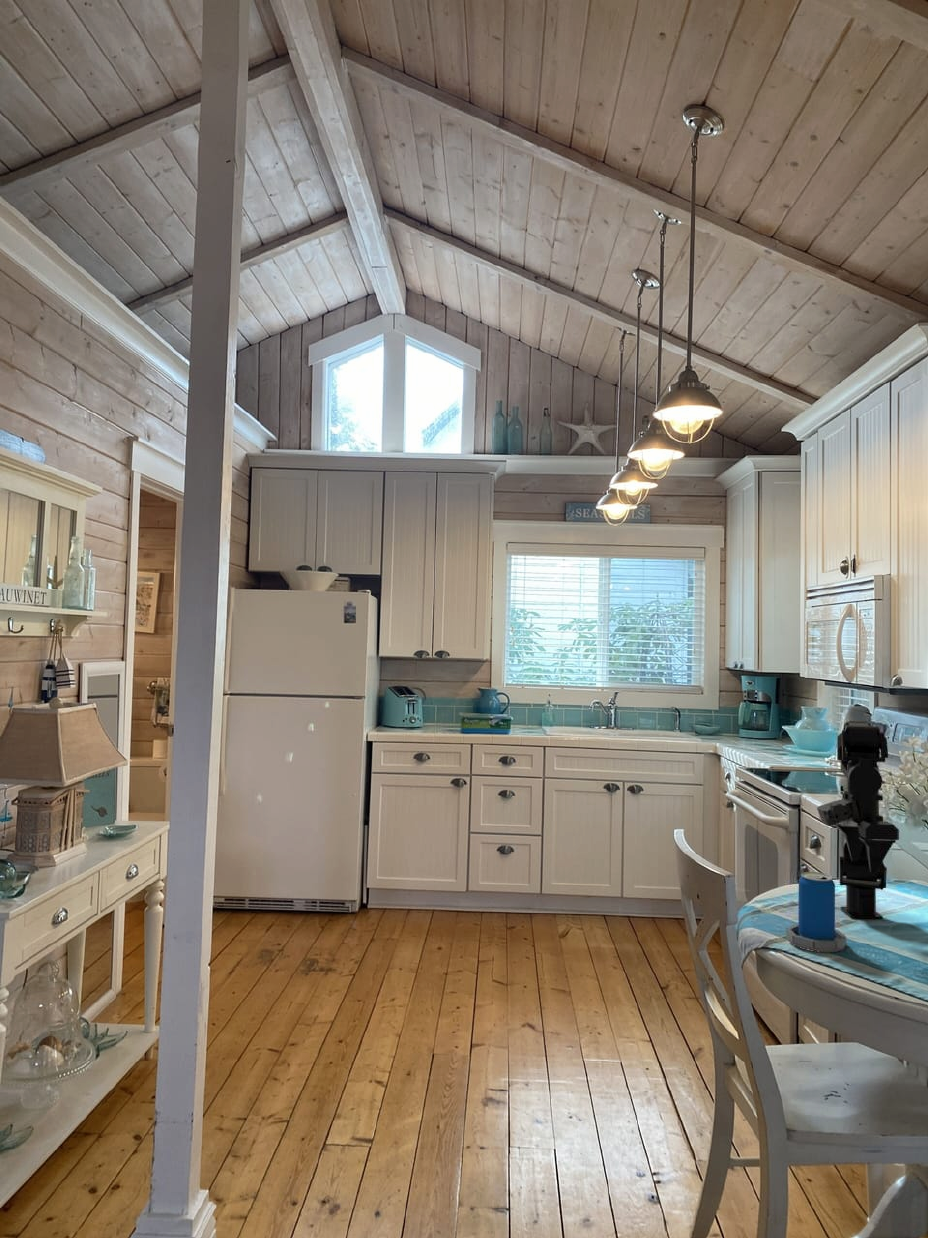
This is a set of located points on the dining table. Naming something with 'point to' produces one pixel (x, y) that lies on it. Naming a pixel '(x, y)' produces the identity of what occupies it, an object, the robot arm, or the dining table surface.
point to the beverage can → (816, 906)
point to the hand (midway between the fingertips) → (863, 867)
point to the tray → (816, 941)
